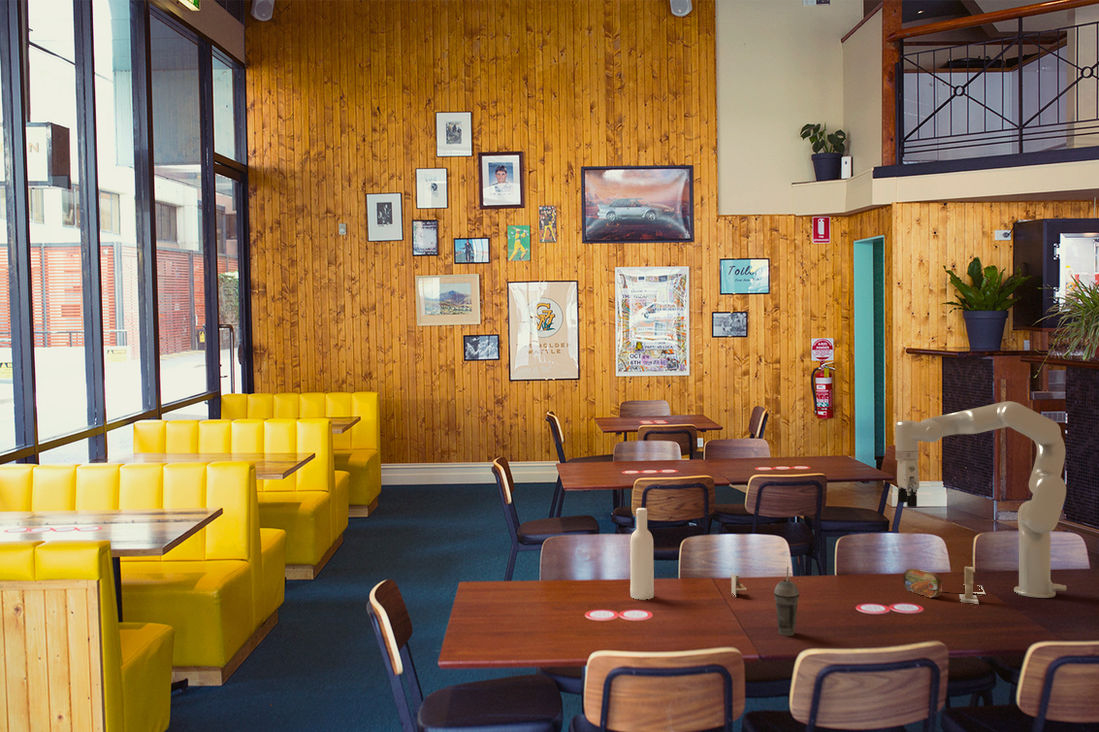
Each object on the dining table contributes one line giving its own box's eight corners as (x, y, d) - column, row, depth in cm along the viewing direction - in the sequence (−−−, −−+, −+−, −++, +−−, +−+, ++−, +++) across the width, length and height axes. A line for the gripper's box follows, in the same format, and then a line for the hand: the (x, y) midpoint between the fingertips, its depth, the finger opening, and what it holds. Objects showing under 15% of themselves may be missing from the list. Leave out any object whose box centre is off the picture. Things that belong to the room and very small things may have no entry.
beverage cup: (795, 629, 279) (795, 562, 279) (802, 637, 272) (802, 568, 271) (771, 629, 279) (770, 563, 278) (777, 637, 271) (777, 568, 271)
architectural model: (741, 594, 322) (741, 572, 321) (746, 599, 315) (746, 577, 314) (731, 594, 321) (731, 573, 321) (736, 600, 314) (736, 577, 314)
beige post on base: (975, 598, 312) (975, 565, 312) (978, 605, 305) (978, 570, 305) (959, 597, 314) (959, 564, 314) (961, 603, 306) (961, 569, 306)
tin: (902, 590, 324) (902, 566, 324) (909, 589, 325) (909, 565, 325) (937, 600, 310) (937, 575, 310) (943, 599, 312) (943, 574, 312)
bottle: (645, 601, 311) (645, 511, 311) (625, 597, 316) (625, 509, 316) (658, 596, 318) (657, 508, 317) (638, 592, 323) (638, 506, 322)
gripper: (926, 458, 319) (926, 508, 319) (909, 453, 336) (910, 500, 336) (904, 458, 319) (904, 508, 320) (888, 453, 337) (888, 500, 337)
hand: (907, 504), depth 328 cm, fingers open, 9 cm apart
